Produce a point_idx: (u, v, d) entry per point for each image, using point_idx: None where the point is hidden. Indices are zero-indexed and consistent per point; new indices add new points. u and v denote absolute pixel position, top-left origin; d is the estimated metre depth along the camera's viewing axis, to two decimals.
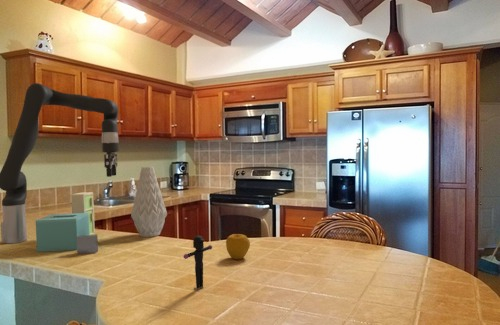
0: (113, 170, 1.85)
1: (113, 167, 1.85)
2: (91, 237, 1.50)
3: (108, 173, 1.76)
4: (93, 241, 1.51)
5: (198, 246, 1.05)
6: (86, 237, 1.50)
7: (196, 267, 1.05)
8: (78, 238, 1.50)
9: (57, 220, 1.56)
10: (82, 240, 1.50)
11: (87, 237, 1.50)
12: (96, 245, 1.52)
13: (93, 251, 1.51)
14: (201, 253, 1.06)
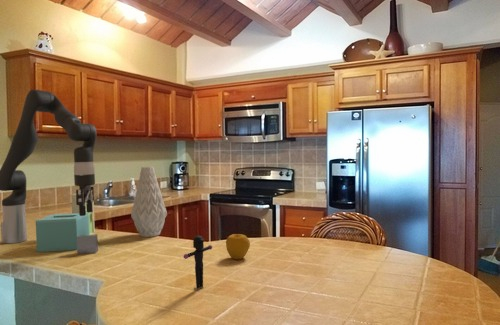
0: (89, 206, 1.55)
1: (89, 202, 1.55)
2: (91, 237, 1.50)
3: None
4: (93, 241, 1.51)
5: (198, 246, 1.05)
6: (86, 237, 1.50)
7: (196, 267, 1.05)
8: (78, 238, 1.50)
9: (57, 220, 1.56)
10: (82, 240, 1.50)
11: (87, 237, 1.50)
12: (96, 245, 1.52)
13: (93, 251, 1.51)
14: (201, 253, 1.06)
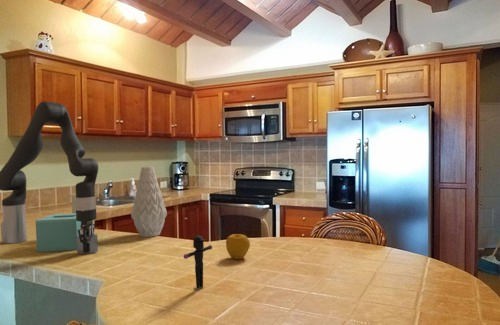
0: None
1: None
2: (91, 237, 1.50)
3: None
4: (93, 241, 1.50)
5: (198, 246, 1.05)
6: None
7: (196, 267, 1.05)
8: (78, 238, 1.50)
9: (57, 220, 1.56)
10: None
11: None
12: (96, 245, 1.52)
13: (93, 251, 1.50)
14: (201, 253, 1.06)
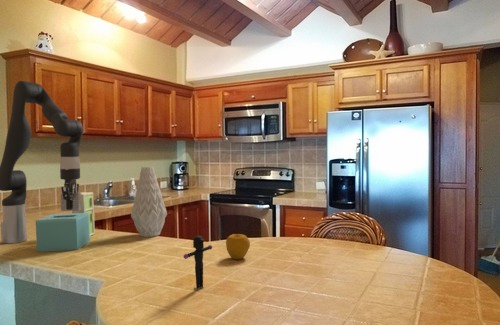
0: None
1: None
2: (74, 195, 1.57)
3: (68, 206, 1.56)
4: (76, 199, 1.57)
5: (198, 246, 1.05)
6: None
7: (196, 267, 1.05)
8: (62, 195, 1.57)
9: (57, 220, 1.56)
10: None
11: None
12: (79, 203, 1.59)
13: (76, 208, 1.57)
14: (201, 253, 1.06)
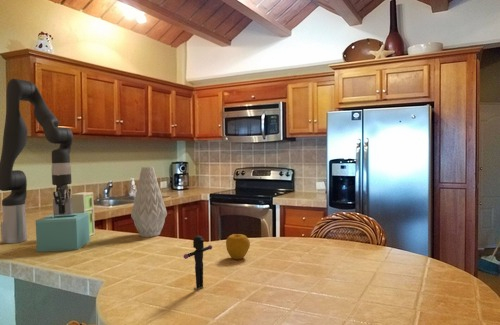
0: None
1: None
2: (66, 200, 1.63)
3: None
4: (68, 203, 1.63)
5: (198, 246, 1.05)
6: None
7: (196, 267, 1.05)
8: (54, 200, 1.62)
9: (57, 220, 1.56)
10: None
11: None
12: (71, 207, 1.64)
13: (68, 213, 1.63)
14: (201, 253, 1.06)
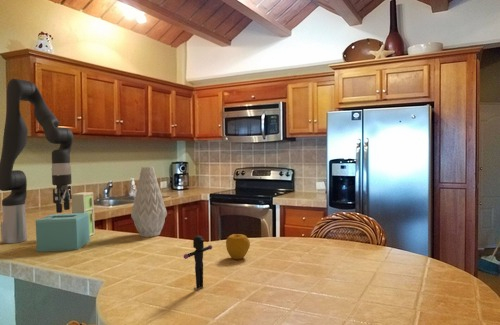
0: (66, 204, 1.68)
1: (66, 200, 1.68)
2: None
3: (58, 209, 1.59)
4: None
5: (198, 246, 1.05)
6: None
7: (196, 267, 1.05)
8: None
9: (57, 220, 1.56)
10: None
11: None
12: None
13: None
14: (201, 253, 1.06)
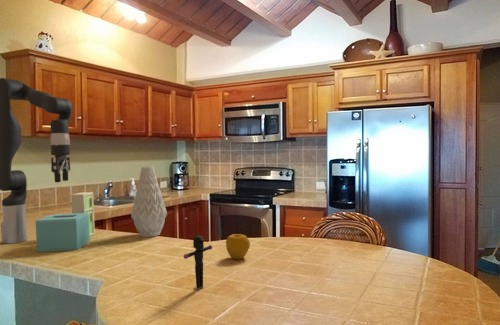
0: (65, 175, 1.68)
1: (65, 171, 1.68)
2: None
3: None
4: None
5: (198, 246, 1.05)
6: None
7: (196, 267, 1.05)
8: None
9: (57, 220, 1.56)
10: None
11: None
12: None
13: None
14: (201, 253, 1.06)
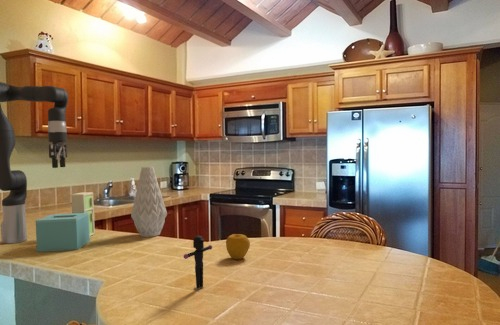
0: (62, 161, 1.75)
1: (62, 158, 1.75)
2: None
3: (54, 164, 1.66)
4: None
5: (198, 246, 1.05)
6: None
7: (196, 267, 1.05)
8: None
9: (57, 220, 1.56)
10: None
11: None
12: None
13: None
14: (201, 253, 1.06)
